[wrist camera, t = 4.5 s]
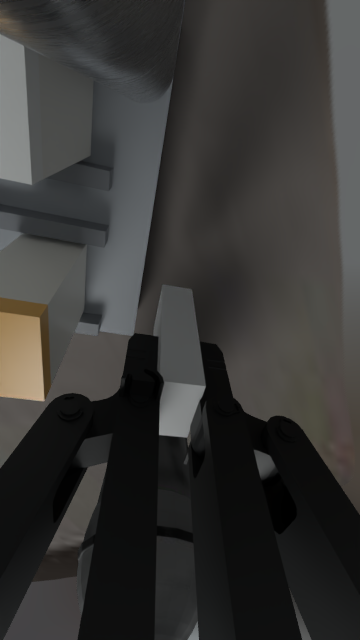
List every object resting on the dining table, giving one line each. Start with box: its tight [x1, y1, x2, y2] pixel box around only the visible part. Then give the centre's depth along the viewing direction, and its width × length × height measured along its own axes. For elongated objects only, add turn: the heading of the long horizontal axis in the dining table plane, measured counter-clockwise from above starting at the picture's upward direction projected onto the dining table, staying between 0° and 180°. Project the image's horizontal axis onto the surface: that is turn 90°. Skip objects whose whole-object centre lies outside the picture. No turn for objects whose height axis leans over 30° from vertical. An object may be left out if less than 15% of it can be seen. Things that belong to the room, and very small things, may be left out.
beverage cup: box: [77, 435, 198, 640], centre depth 18 cm, size 7×7×20 cm
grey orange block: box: [0, 233, 87, 401], centre depth 13 cm, size 3×4×7 cm
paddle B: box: [0, 34, 94, 185], centre depth 9 cm, size 3×4×7 cm
